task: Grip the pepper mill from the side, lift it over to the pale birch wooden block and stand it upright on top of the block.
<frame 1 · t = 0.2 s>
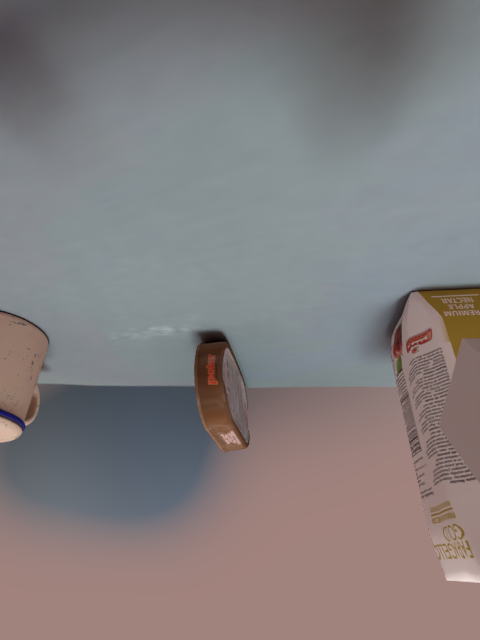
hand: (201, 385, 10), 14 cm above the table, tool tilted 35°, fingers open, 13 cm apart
teacup with lid: (11, 337, 38), on the table
juice carton: (436, 310, 33), on the table
tin: (227, 360, 41), on the table
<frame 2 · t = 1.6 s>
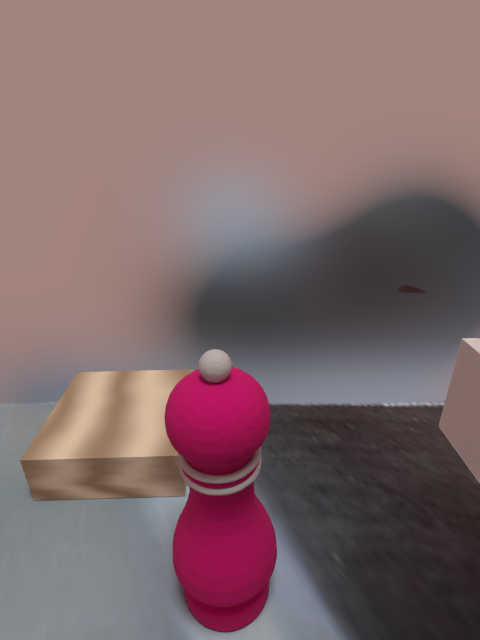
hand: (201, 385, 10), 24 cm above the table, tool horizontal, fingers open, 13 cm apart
birch block: (127, 444, 42), on the table
pepper mill: (227, 586, 29), on the table
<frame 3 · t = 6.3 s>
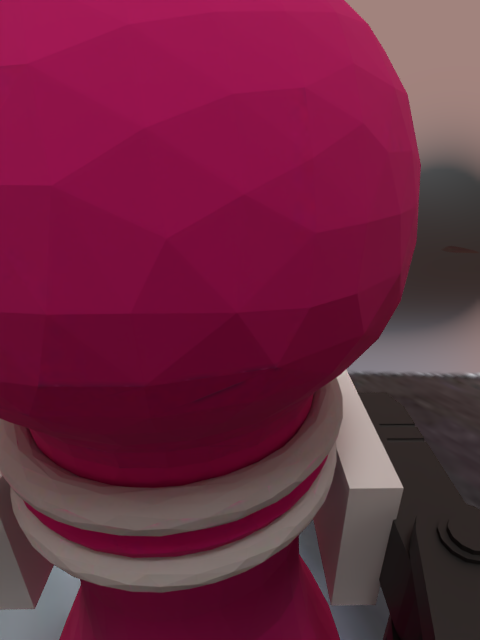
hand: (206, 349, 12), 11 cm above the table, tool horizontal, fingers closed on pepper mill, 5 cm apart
when the fingers open (17 cm above the table, at t = 11.5 s): pepper mill drops 1 cm, resting on birch block.
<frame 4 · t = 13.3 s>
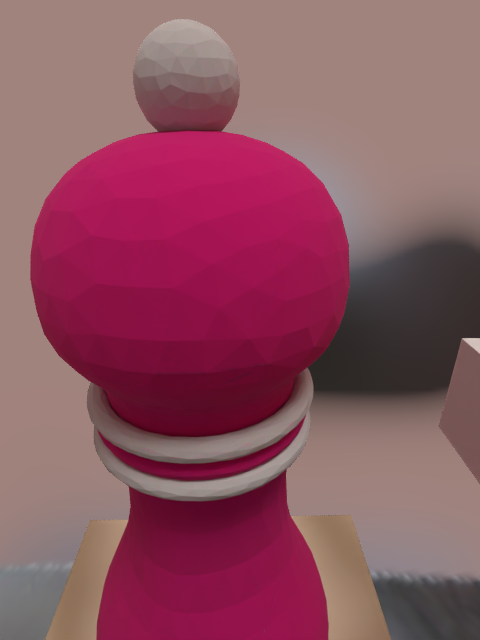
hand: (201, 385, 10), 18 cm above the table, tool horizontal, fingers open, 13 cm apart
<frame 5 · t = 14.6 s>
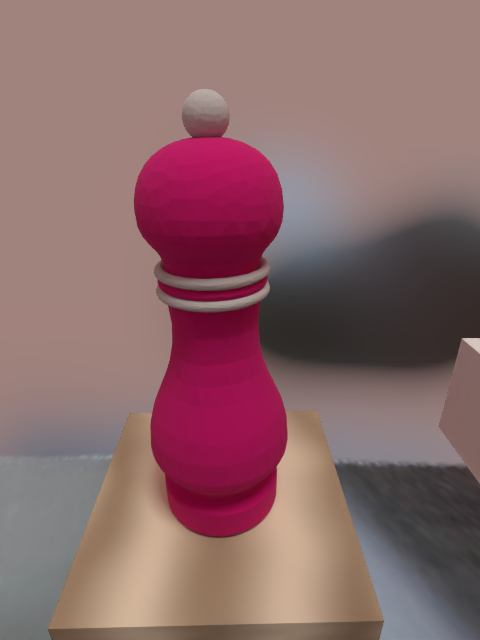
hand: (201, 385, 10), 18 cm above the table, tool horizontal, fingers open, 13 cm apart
birch block: (223, 545, 25), on the table
pepper mill: (222, 491, 22), point 5 cm above the table, touching birch block
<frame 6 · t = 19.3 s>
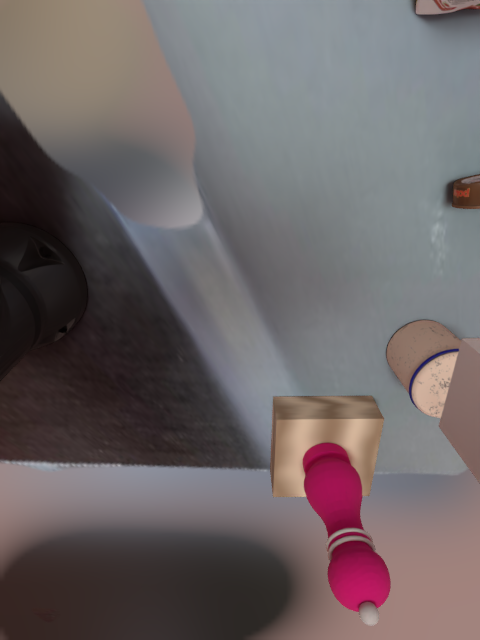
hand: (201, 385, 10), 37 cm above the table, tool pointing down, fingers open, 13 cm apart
teacup with lid: (428, 345, 52), on the table
birch block: (318, 434, 58), on the table
pepper mill: (324, 458, 53), point 5 cm above the table, touching birch block
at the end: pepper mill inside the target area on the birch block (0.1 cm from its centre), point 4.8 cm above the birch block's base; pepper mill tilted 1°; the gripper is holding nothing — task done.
